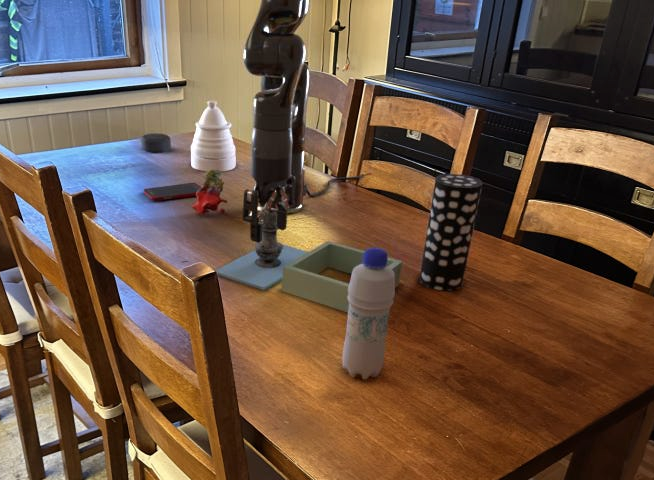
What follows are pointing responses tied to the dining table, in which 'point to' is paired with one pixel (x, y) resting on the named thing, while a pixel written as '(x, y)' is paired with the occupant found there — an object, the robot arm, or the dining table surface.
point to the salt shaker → (269, 242)
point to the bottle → (368, 314)
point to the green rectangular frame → (321, 289)
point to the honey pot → (213, 142)
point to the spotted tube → (450, 231)
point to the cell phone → (172, 191)
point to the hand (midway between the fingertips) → (268, 234)
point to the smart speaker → (156, 142)
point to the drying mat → (258, 269)
